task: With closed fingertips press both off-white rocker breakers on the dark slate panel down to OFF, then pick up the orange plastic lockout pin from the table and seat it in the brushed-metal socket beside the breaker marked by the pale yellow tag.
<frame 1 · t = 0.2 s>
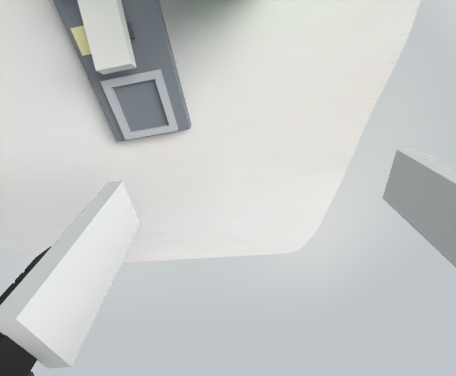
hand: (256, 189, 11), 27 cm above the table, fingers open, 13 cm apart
breaker b: (107, 32, 26), point 5 cm above the table, hinge at -20.0°
panel: (124, 39, 31), on the table
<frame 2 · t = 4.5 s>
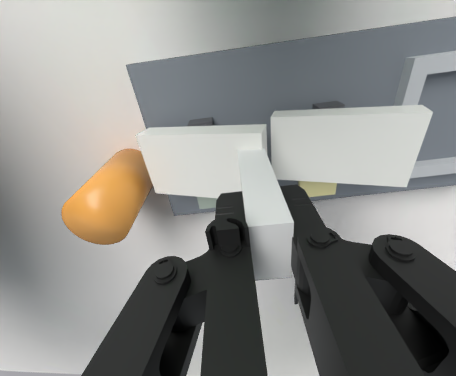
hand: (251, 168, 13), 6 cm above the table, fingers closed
lockout pin: (134, 170, 20), on the table
breaker b: (336, 147, 14), point 5 cm above the table, hinge at -20.0°
panel: (318, 124, 18), on the table
breaker a: (204, 163, 15), point 5 cm above the table, hinge at -18.6°, touching gripper
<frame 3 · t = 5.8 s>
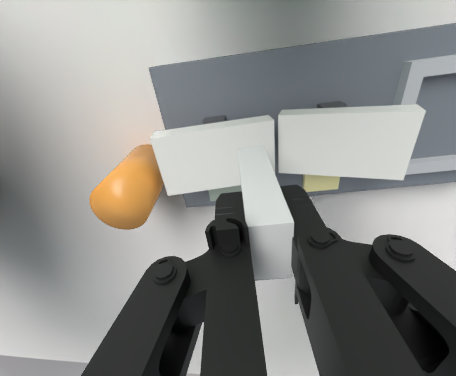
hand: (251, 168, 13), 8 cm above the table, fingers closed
lockout pin: (150, 164, 21), on the table
breaker b: (338, 143, 15), point 5 cm above the table, hinge at -20.0°
panel: (322, 123, 19), on the table
breaker a: (216, 156, 16), point 5 cm above the table, hinge at 5.3°
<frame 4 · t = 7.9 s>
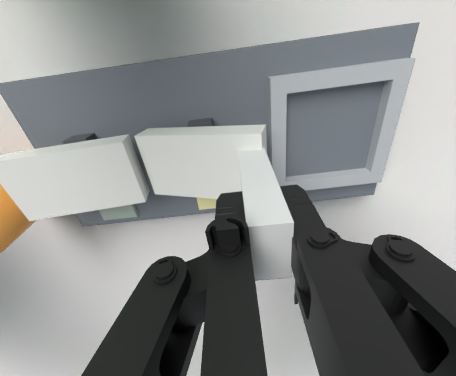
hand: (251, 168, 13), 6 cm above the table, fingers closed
lockout pin: (42, 181, 20), on the table
breaker b: (203, 163, 14), point 5 cm above the table, hinge at -18.0°, touching gripper
panel: (213, 138, 18), on the table
breaker a: (77, 178, 15), point 5 cm above the table, hinge at 5.3°
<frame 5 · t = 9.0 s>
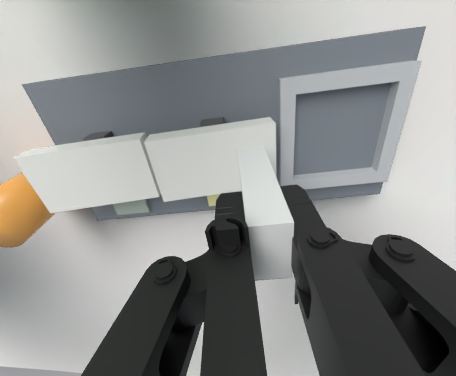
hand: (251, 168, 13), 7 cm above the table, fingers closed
lockout pin: (60, 177, 21), on the table
breaker b: (215, 160, 15), point 5 cm above the table, hinge at 5.1°
panel: (223, 137, 19), on the table
breaker a: (96, 173, 16), point 5 cm above the table, hinge at 5.3°
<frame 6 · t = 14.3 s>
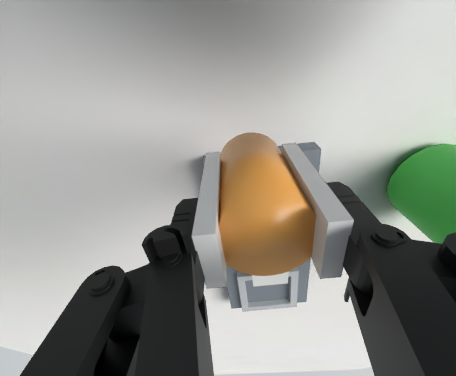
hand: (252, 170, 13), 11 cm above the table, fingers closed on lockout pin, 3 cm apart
lockout pin: (250, 163, 14), point 10 cm above the table, touching gripper
breaker b: (269, 260, 27), point 5 cm above the table, hinge at 5.1°
panel: (263, 237, 31), on the table
bottle: (419, 175, 27), on the table
when the fingers open (3 cm above the table, at t = 18.3 s): lockout pin stays where it is, resting on panel.
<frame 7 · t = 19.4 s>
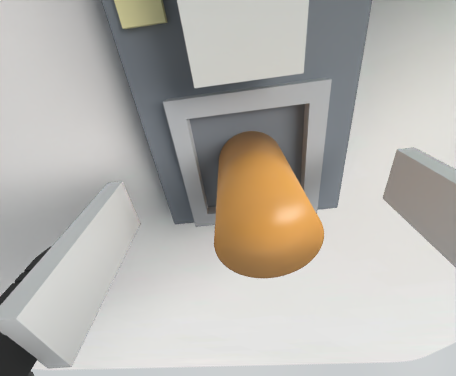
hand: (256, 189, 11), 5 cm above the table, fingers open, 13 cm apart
lockout pin: (250, 162, 14), point 2 cm above the table, touching panel
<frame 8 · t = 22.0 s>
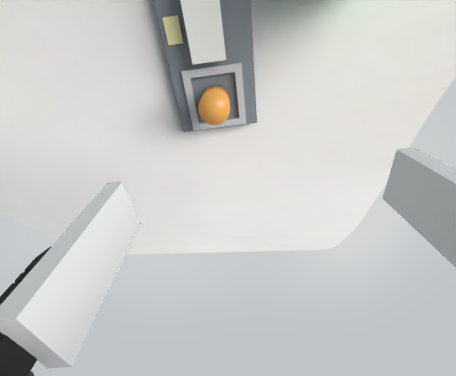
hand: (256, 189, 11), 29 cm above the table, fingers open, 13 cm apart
lockout pin: (216, 98, 34), point 2 cm above the table, touching panel
breaker b: (203, 24, 27), point 5 cm above the table, hinge at 5.1°
panel: (207, 31, 31), on the table
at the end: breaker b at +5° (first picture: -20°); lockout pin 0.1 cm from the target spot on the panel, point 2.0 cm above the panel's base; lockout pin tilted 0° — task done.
